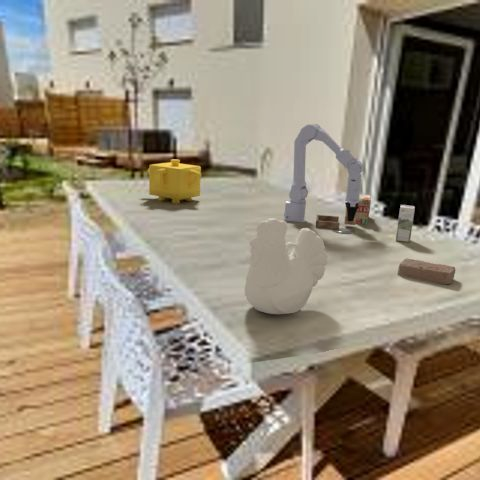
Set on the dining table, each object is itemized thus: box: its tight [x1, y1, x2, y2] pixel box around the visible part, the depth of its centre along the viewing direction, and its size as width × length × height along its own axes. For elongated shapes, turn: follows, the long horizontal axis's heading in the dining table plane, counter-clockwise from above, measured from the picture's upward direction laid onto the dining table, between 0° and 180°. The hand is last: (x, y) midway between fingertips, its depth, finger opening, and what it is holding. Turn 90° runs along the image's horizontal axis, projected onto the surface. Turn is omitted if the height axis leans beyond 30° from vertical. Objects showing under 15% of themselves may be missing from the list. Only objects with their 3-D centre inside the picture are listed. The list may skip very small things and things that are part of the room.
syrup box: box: [395, 204, 416, 244], centre depth 209 cm, size 6×6×14 cm
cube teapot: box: [146, 158, 202, 204], centre depth 268 cm, size 35×30×21 cm
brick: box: [397, 258, 456, 285], centre depth 167 cm, size 17×8×5 cm, turn 59°
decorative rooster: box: [244, 217, 329, 315], centre depth 133 cm, size 25×16×25 cm, turn 110°
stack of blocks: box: [355, 193, 372, 225], centre depth 243 cm, size 21×6×12 cm, turn 168°
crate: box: [315, 214, 340, 230], centre depth 228 cm, size 10×13×4 cm
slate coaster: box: [331, 227, 357, 235], centre depth 219 cm, size 10×10×1 cm
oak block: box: [344, 207, 357, 226], centre depth 226 cm, size 4×4×6 cm
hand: (350, 219), depth 226 cm, fingers closed on oak block, 4 cm apart
